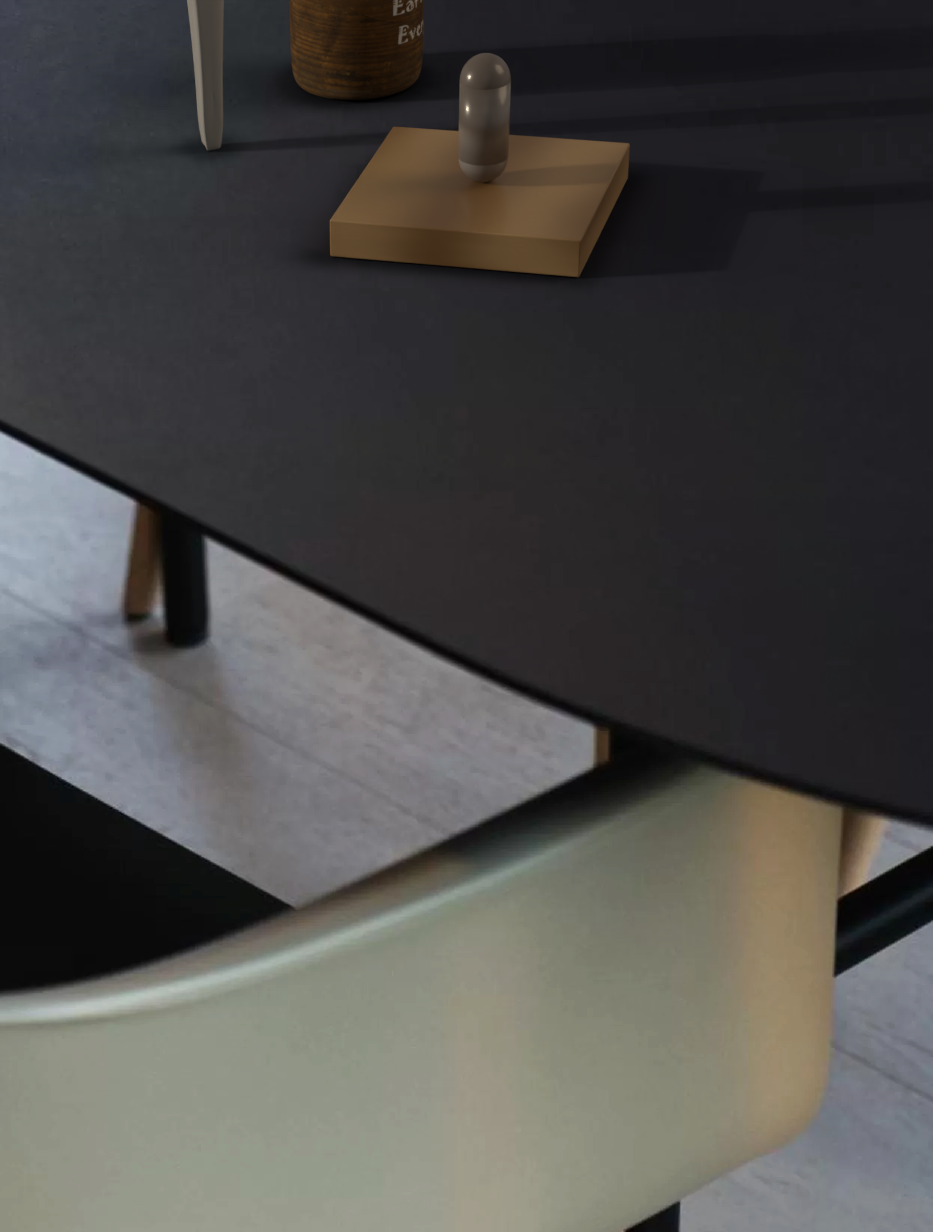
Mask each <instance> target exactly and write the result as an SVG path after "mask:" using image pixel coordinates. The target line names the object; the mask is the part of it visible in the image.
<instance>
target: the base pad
mask: <svg viewBox="0 0 933 1232" xmlns="http://www.w3.org/2000/svg"><path fill="white" fill-rule="evenodd" d="M511 85H512V77H511V71H510V68H509V66H508V64H507V63H506V61H504V59H503V58H502V57H500V56H499V55H496V54H494V53H492V52H482V53H478V54H476V55H473V56H472V57H470V58H469V59H468V60H467V61H466V62H465V63H464V65H463V67H462V69H461V71H460V74H459V90H458V91H459V93H458V94H459V95H458V130H447V129H433V128H420V127H419V128H418V127H405V126H393V127H392V128H391V130H390V131H389V133H388V134H387V135H386V137H385V138H384V140H383V141H382V143H381V144H380V145H379V147H378V148H377V150H376V152H375V153H374V154H373V156H372V158H371V159H370V161H369V162H368V164H367V165H366V166H365V168H364V169H363V171H362V172H361V173H360V175H359V177H358V178H357V180H356V181H355V183H354V184H353V185H352V187H351V189H350V190H349V191H348V193H347V195H346V196H345V198H344V199H343V201H342V202H341V203H340V205H339V206H338V207H337V209H336V211H335V212H334V213H333V215H332V216H331V218H330V219H329V255H330V257H335V258H344V259H345V258H346V259H359V260H371V261H382V262H393V263H404V264H406V263H407V264H417V265H428V266H429V265H430V266H442V267H453V268H463V269H464V268H465V269H475V270H476V269H477V270H487V271H489V270H490V271H500V272H513V273H522V274H533V275H535V274H536V275H547V276H558V277H559V276H560V277H570V278H580V276H581V274H582V272H583V270H584V268H585V266H586V265H587V262H588V260H589V258H590V256H591V254H592V252H593V249H594V248H595V246H596V243H597V242H598V240H599V238H600V236H601V233H602V231H603V229H604V227H605V226H606V223H607V222H608V219H609V218H610V215H611V214H612V212H613V209H614V208H615V205H616V203H617V201H618V199H619V197H620V195H621V193H622V191H623V189H624V186H626V185H625V184H626V182H627V181H628V179H629V167H630V165H629V164H630V148H631V144H630V143H629V142H615V141H602V140H601V141H600V140H586V139H574V138H559V137H546V136H533V135H531V136H530V135H518V134H510V124H511V123H510V121H511V90H512V86H511Z"/></svg>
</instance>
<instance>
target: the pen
mask: <svg viewBox="0 0 933 1232" xmlns="http://www.w3.org/2000/svg"><path fill="white" fill-rule="evenodd" d="M186 3H187V9H188V10H187V11H188V12H187V13H188V22H189V30H190V38H191V47H192V48H191V50H192V57H193V58H192V59H193V60H192V61H193V71H194V80H195V94H196V95H195V96H196V109H197V110H196V111H197V112H196V113H197V121H198V130H199V134H200V139H201V143H202V144H203V146H204V147H205V149H206V151H208V152H210V151H215V150H220V148H221V147H222V141H223V132H224V131H223V130H224V129H223V128H224V87H223V86H224V85H223V84H224V83H223V82H224V81H223V77H224V76H223V75H224V73H223V72H224V71H223V70H224V69H223V67H224V62H223V61H224V17H225V16H224V13H225V12H224V11H225V0H186Z"/></svg>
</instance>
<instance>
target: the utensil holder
mask: <svg viewBox="0 0 933 1232" xmlns="http://www.w3.org/2000/svg"><path fill="white" fill-rule="evenodd" d="M289 40H290V56H291V57H290V60H291V69H292V74H293V78H294V80H295V82H296V84H297V85H298V86H299V87H300V88H301V89H302V90H304V91H305V92H307V93H309V94H311V95H314V96H317V97H320V98H325V99H331V100H337V101H338V100H339V101H367V100H368V101H369V100H376V99H381V98H386V97H390V96H393V95H397V94H399V93H401V92H404V91H405V90H407V89H409V88H410V87H412V86H413V85H414V84H415V83H416V82H417V80H418V79H419V77H420V74H421V71H422V65H423V56H424V0H289Z"/></svg>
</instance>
